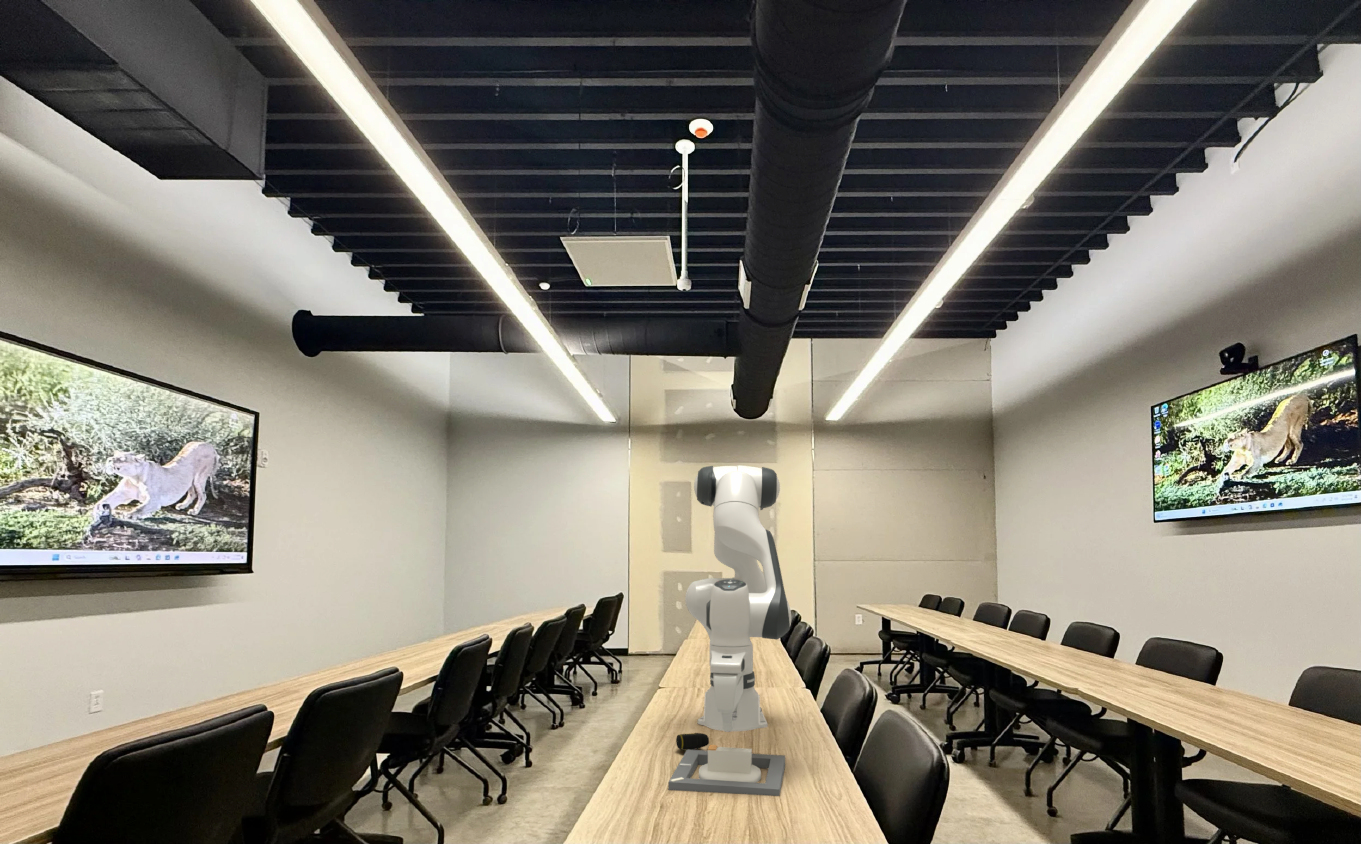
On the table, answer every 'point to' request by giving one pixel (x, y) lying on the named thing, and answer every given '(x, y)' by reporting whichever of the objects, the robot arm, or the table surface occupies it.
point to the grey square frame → (698, 757)
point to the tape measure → (692, 741)
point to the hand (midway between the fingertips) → (730, 725)
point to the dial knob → (730, 765)
